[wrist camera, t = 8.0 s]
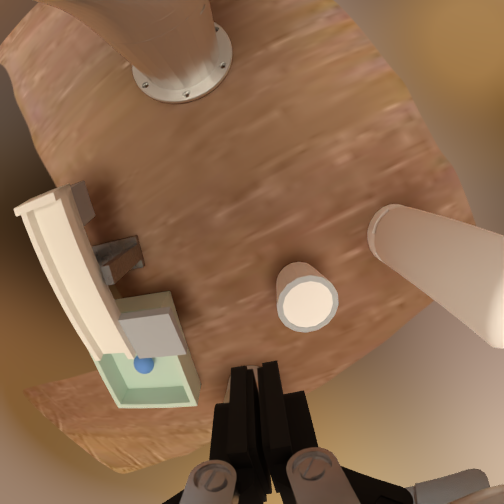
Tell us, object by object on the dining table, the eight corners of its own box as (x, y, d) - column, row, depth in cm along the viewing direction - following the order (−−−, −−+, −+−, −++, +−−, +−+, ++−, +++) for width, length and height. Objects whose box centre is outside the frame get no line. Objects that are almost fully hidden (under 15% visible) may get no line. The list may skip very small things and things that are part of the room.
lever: (44, 190, 26) (13, 209, 21) (133, 159, 26) (110, 172, 20) (110, 338, 36) (97, 371, 30) (190, 329, 35) (184, 365, 30)
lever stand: (86, 247, 36) (48, 269, 27) (137, 235, 36) (105, 255, 27) (94, 275, 37) (59, 302, 28) (145, 265, 37) (117, 293, 28)
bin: (90, 303, 38) (74, 318, 33) (170, 290, 38) (160, 306, 33) (127, 388, 42) (118, 407, 38) (201, 384, 42) (197, 405, 37)
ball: (140, 373, 39) (137, 353, 40) (158, 371, 39) (155, 352, 40) (131, 375, 36) (128, 354, 37) (150, 374, 36) (147, 353, 37)
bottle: (370, 268, 38) (514, 403, 11) (363, 209, 36) (548, 290, 9) (419, 255, 38) (570, 353, 11) (414, 199, 35) (594, 253, 8)
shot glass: (282, 314, 39) (289, 341, 32) (263, 269, 37) (267, 290, 31) (329, 294, 39) (345, 318, 32) (314, 248, 37) (328, 265, 30)
